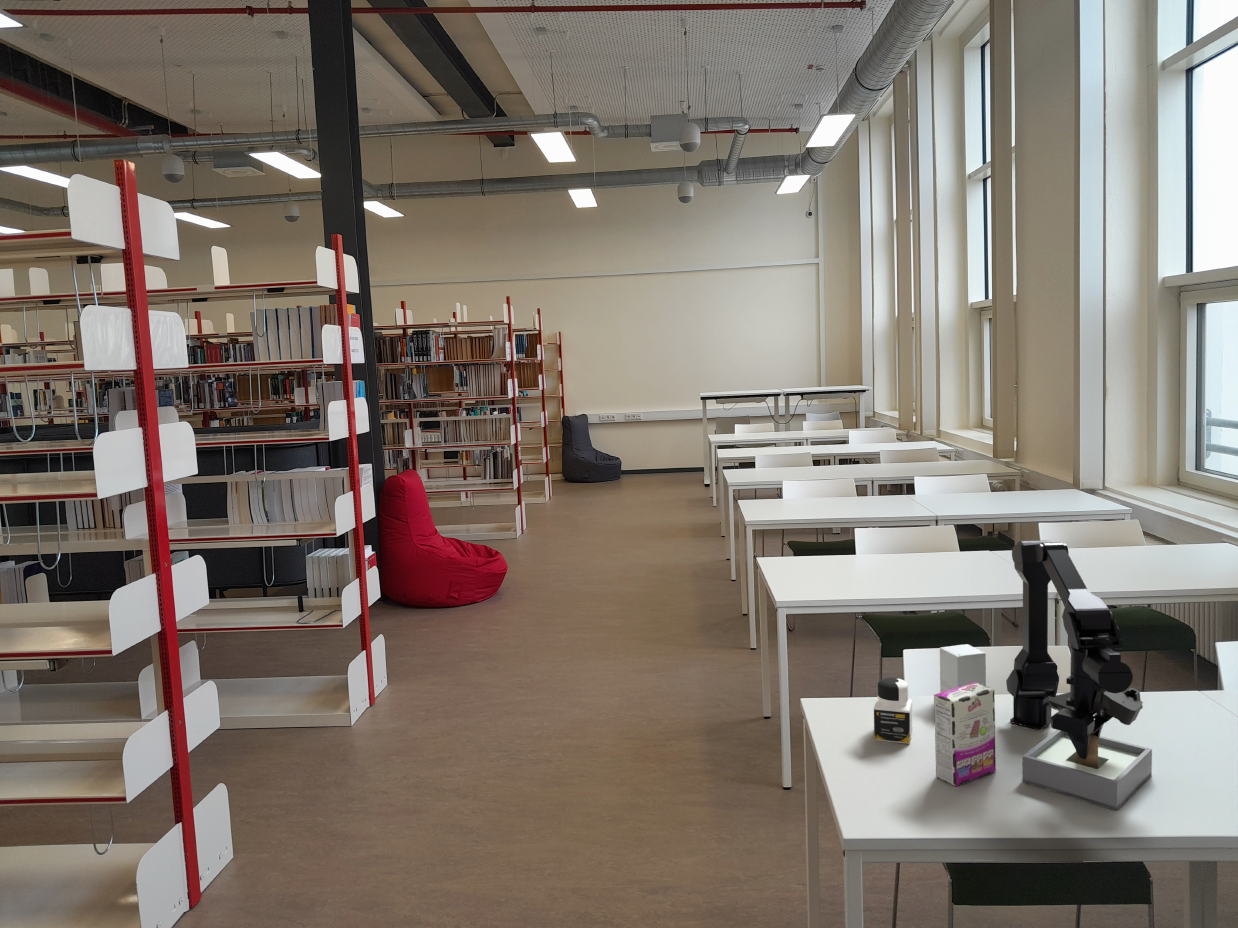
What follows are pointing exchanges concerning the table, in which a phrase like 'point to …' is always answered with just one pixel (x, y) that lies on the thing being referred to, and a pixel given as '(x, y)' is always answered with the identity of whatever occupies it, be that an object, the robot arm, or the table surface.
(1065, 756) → the box
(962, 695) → the candy bar box
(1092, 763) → the peg
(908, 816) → the table surface
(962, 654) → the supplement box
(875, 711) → the medicine bottle
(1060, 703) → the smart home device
